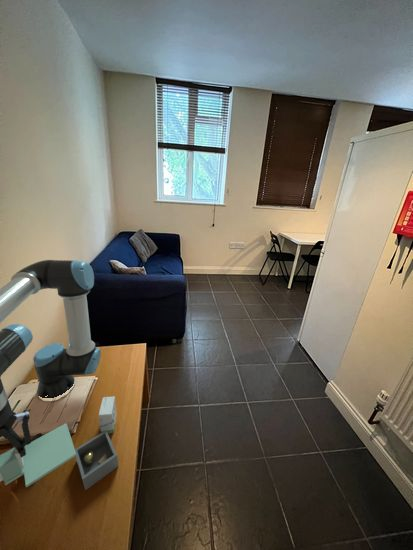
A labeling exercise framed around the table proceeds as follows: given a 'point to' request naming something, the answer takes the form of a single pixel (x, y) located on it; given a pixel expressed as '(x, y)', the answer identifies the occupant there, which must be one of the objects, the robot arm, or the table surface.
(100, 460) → the walnut part
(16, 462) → the lid
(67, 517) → the table surface
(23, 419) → the robot arm
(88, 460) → the brass part
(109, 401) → the ink box
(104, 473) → the tub
